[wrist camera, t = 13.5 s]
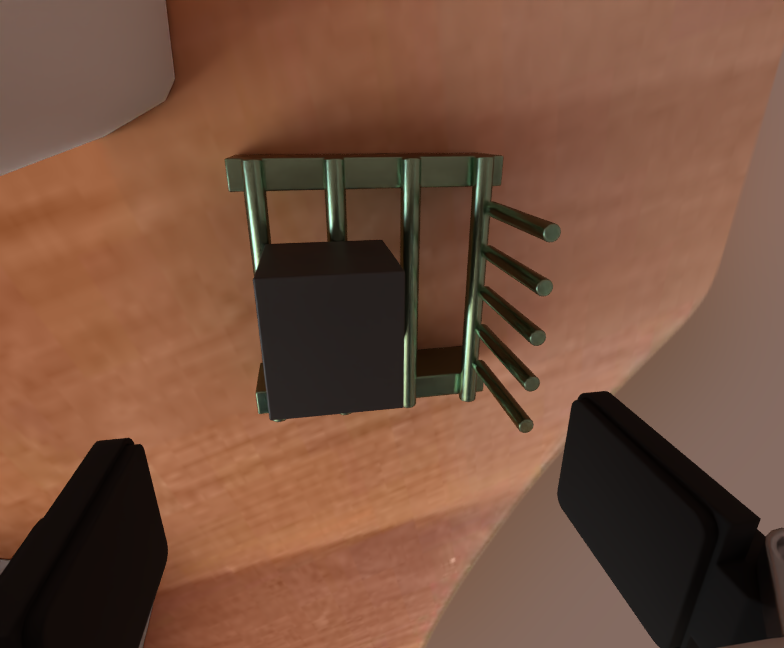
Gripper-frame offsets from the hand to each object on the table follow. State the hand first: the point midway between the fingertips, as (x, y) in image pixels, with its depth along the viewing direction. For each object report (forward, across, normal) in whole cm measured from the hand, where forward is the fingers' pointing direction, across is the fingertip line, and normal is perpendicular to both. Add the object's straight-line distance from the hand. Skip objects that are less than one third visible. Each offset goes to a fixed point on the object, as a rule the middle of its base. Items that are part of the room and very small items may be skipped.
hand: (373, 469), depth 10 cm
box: (+10, 0, 0) cm, 10 cm away
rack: (+14, -2, 0) cm, 14 cm away
